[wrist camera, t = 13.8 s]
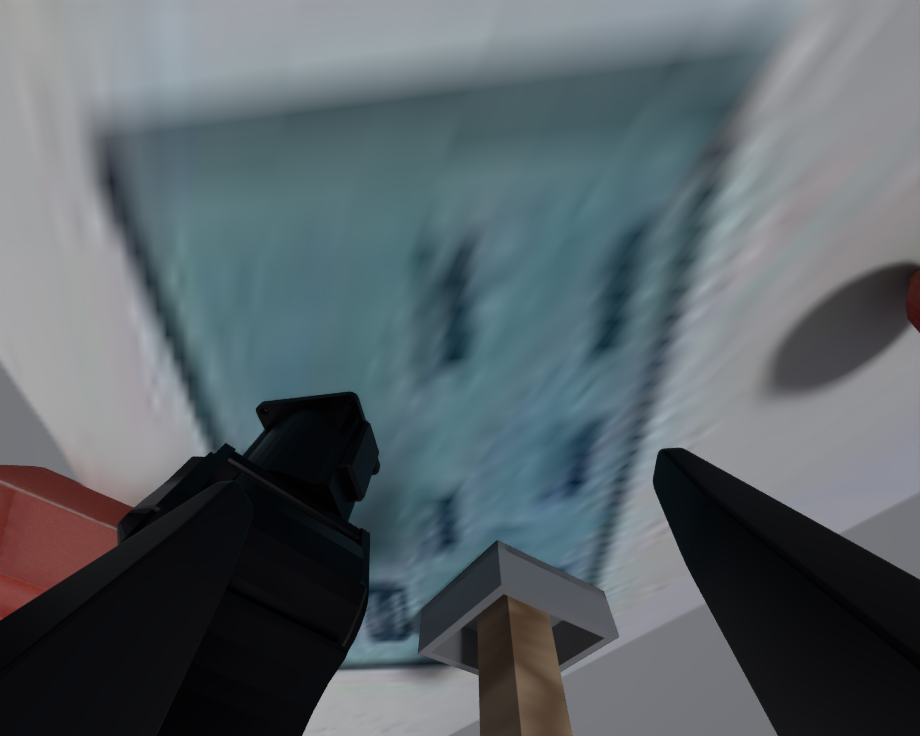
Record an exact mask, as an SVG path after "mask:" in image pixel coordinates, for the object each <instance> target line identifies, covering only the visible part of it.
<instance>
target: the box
mask: <svg viewBox="0 0 920 736" xmlns="http://www.w3.org/2000/svg"><path fill="white" fill-rule="evenodd" d="M503 594H505V595H507V596H509V597H511V598H514V599H516V600H518V601H521V602H523V603H525V604H528V605H530V606H532V607H534V608H537V609H539V610H541V611H544V612H546V613H548V614H549V617H550V622H551V627H552V632H553V638H554V643H555V648H556V653H557V658H558V663H559V668H560V672H562V671H563V670H565V669H567V668H568V667H570V666H572V665H573V664H575V663H577V662H578V661H580V660H582V659H583V658H585V657H587V656H588V655H590V654H592V653H593V652H595V651H597V650H598V649H600V648H602V647H603V646H605V645H607V644H608V643H610V642H612V641H613V640H615V639H617V638H618V637H619V634H618V631H617V628H616V625H615V622H614V619H613V617H612V614H611V611H610V608H609V605H608V602H607V599H606V596H605V593H604V591H602V590H600V589H598V588H596V587H594V586H592V585H590V584H588V583H585V582H583V581H581V580H579V579H577V578H575V577H573V576H571V575H569V574H567V573H565V572H562V571H560V570H558V569H556V568H554V567H552V566H550V565H548V564H546V563H544V562H542V561H539V560H537V559H535V558H533V557H531V556H529V555H527V554H525V553H523V552H521V551H519V550H516V549H514V548H512V547H510V546H508V545H506V544H504V543H502V542H500V541H498V540H497V541H496V542H495V543H494V544H493V545H492V546H491V547H490V548H489V549H488V550H486V551H485V552H484V553H483V554H482V555H481V556H480V557H479V558H478V559H477V560H476V561H474V562H473V563H472V564H471V565H470V566H469V567H468V568H467V569H466V570H465V571H463V572H462V573H461V574H460V575H459V576H458V577H457V578H456V579H455V580H454V581H452V582H451V583H450V584H449V585H448V586H447V587H446V588H445V589H444V590H443V591H441V592H440V593H439V594H438V595H437V596H436V597H435V598H434V599H433V600H432V601H431V602H429V603H428V604H427V605H426V606H425V607H424V608H423V609H422V618H421V628H420V637H419V646H418V654H420V655H423V656H426V657H429V658H432V659H434V660H437V661H440V662H443V663H446V664H448V665H451V666H454V667H457V668H460V669H462V670H465V671H468V672H471V673H474V674H476V675H479V666H478V625H477V615H478V614H479V613H481V612H482V611H483V610H484V609H486V608H487V607H488V606H489V605H491V604H492V603H493V602H494V601H496V600H497V599H498V598H499V597H501V596H502V595H503Z"/></svg>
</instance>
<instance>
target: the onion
mask: <svg viewBox="0 0 920 736" xmlns="http://www.w3.org/2000/svg"><path fill="white" fill-rule="evenodd" d="M906 310H907V317H908V319H909V321H910V322H911V323H912V324H913V326H914V327H915V328H916V329H917V330H918V331H919V333H920V269H918V270H916V271H915V272H914V273H913V274H912V275H911V276H910V278H909V279H908V292H907V296H906Z"/></svg>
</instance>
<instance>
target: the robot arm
mask: <svg viewBox="0 0 920 736" xmlns="http://www.w3.org/2000/svg"><path fill="white" fill-rule="evenodd" d="M347 398H348V399H351V400H352V401H353V402H349V401H348V400H347ZM263 408H265V409H267V411H265V410H264V409H263ZM256 412H257V415H258V417H259V419H260V421H261V423H262V425H263V427H264V429H265V430H264V431H263V432H262V433H261V434H260V436H259V437H258V438H257V439H256V440H255V442H254V443H253V444H252V445H251V446H250V447H249V449H248V450H247V451H246V452H245V453H244V454H243V456H242V455H240V454H238V453H237V452H235V450H236V449H235V448H233V447H231V446H230V445H228V444H227V443H225V444H224V445H223V446H222V447H221V448H220V449H219V450H218V451H217V452H216V453H215V454H214V453H212V452H210V453H209V454H208V455H207V456H206V457H191V458H190V459H189V460H188V461H187V462H186V463H185V464H184V465H183V466H182V467H181V468H180V469H179V470H178V471H177V472H176V473H175V474H174V475H173V476H172V477H171V478H170V479H168V480H167V481H166V482H165V483H164V484H163V485H162V486H160V487H159V488H158V489H157V490H155V491H154V492H153V493H152V494H150V495H149V496H148V497H147V498H145V499H144V500H143V501H142V502H140V503H139V504H138V505H137V506H135V507H134V508H133V509H132V510H131V511H130V512H128V513H127V514H126V515H125V516H124V517H123V518H122V520H121V521H120V522H119V523H118V524H117V546H116V547H114V548H113V549H111V550H110V551H108V552H106V553H105V554H103V555H102V556H100V557H99V558H97V559H95V560H94V561H92V562H91V563H89V564H88V565H86V566H84V567H83V568H81V569H80V570H78V571H77V572H75V573H73V574H72V575H70V576H69V577H67V578H66V579H64V580H62V581H61V582H59V583H58V584H56V585H55V586H53V587H52V588H50V589H48V590H47V591H45V592H44V593H42V594H41V595H39V596H37V597H36V598H34V599H33V600H31V601H30V602H28V603H26V604H25V605H23V606H22V607H20V608H19V609H17V610H15V611H14V612H12V613H11V614H9V615H8V616H6V617H4V618H3V619H1V620H0V736H302V735H303V732H304V730H305V728H306V726H307V724H308V722H309V719H310V717H311V715H312V713H313V711H314V709H315V707H316V705H317V703H318V702H319V700H320V698H321V696H322V694H323V692H324V691H325V689H326V687H327V685H328V683H329V682H330V680H331V679H332V677H333V676H334V674H335V673H336V671H337V670H338V668H339V667H340V666H341V664H342V663H343V661H344V660H345V658H346V656H347V653H348V651H349V649H350V647H351V645H352V644H353V642H354V640H355V638H356V636H357V634H358V631H359V629H360V627H361V624H362V621H363V618H364V616H365V612H366V608H367V604H368V595H369V558H370V533H369V532H367V531H366V530H364V529H362V528H361V529H359V528H357V527H356V526H354V525H352V524H351V523H349V522H348V521H349V518H350V515H351V512H352V510H353V507H354V504H355V502H359V501H362V499H363V498H364V497H365V494H366V491H367V488H368V485H369V482H370V479H371V476H372V475H376V474H377V473H378V472H379V469H380V463H379V460H378V455H379V450H378V447H377V444H376V441H375V437H374V434H373V431H372V428H371V425H370V423H369V422H368V421H366V419H365V416H364V413H363V410H362V407H361V404H360V401H359V398H358V396H357V395H356V394H355V393H353V392H342V393H333V394H325V395H316V396H307V397H299V398H290V399H282V400H273V401H265V402H262V403H261V404H260V405H259V406H258V407H257V408H256ZM653 486H654V489H655V492H656V494H657V497H658V499H659V502H660V504H661V506H662V509H663V511H664V514H665V516H666V518H667V521H668V523H669V526H670V528H671V530H672V533H673V535H674V538H675V540H676V543H677V545H678V547H679V550H680V552H681V554H682V557H683V559H684V561H685V563H686V565H687V567H688V569H689V571H690V573H691V575H692V577H693V579H694V581H695V583H696V585H697V586H698V588H699V590H700V592H701V594H702V596H703V598H704V599H705V601H706V603H707V605H708V607H709V609H710V611H711V612H712V614H713V616H714V618H715V620H716V622H717V623H718V625H719V627H720V629H721V631H722V633H723V635H724V637H725V638H726V640H727V642H728V644H729V646H730V648H731V649H732V651H733V653H734V655H735V657H736V659H737V661H738V663H739V664H740V666H741V668H742V670H743V672H744V674H745V676H746V677H747V679H748V681H749V683H750V685H751V687H752V689H753V690H754V692H755V694H756V696H757V698H758V700H759V702H760V703H761V705H762V707H763V709H764V711H765V713H766V714H767V716H768V718H769V720H770V722H771V724H772V726H773V727H774V729H775V731H776V733H777V735H778V736H920V579H918V578H916V577H914V576H913V575H911V574H909V573H907V572H905V571H904V570H902V569H900V568H898V567H896V566H894V565H893V564H891V563H889V562H887V561H886V560H884V559H882V558H880V557H878V556H877V555H875V554H873V553H871V552H869V551H868V550H866V549H864V548H862V547H860V546H858V545H857V544H855V543H853V542H851V541H850V540H848V539H846V538H844V537H842V536H841V535H839V534H837V533H835V532H833V531H832V530H830V529H828V528H826V527H824V526H823V525H821V524H819V523H817V522H815V521H813V520H812V519H810V518H808V517H806V516H804V515H803V514H801V513H799V512H797V511H795V510H794V509H792V508H790V507H788V506H786V505H785V504H783V503H781V502H779V501H777V500H776V499H774V498H772V497H770V496H768V495H767V494H765V493H763V492H761V491H759V490H758V489H756V488H754V487H752V486H750V485H749V484H747V483H745V482H743V481H741V480H740V479H738V478H736V477H734V476H732V475H731V474H729V473H727V472H725V471H723V470H722V469H720V468H718V467H716V466H714V465H713V464H711V463H709V462H707V461H705V460H704V459H702V458H700V457H698V456H696V455H695V454H693V453H691V452H689V451H687V450H685V449H683V448H666V449H661V450H660V451H659V452H658V455H657V460H656V465H655V470H654V475H653Z"/></svg>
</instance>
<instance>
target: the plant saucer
mask: <svg viewBox="0 0 920 736" xmlns="http://www.w3.org/2000/svg"><path fill="white" fill-rule="evenodd" d="M132 509H133V507H131V506H128V505H126V504H124V503H121V502H119V501H117V500H114V499H112V498H110V497H107V496H105V495H103V494H100V493H98V492H96V491H93V490H91V489H89V488H86V487H84V486H83V485H82V483H80V482H77V481H75V480H73V479H71V478H68V477H65V476H63V475H61V474H58V473H56V472H54V471H51V470H49V469H47V468H44V467H35V466H17V465H16V466H15V465H0V620H1V619H3V618H4V617H6V616H8V615H9V614H11V613H12V612H14V611H15V610H17V609H19V608H20V607H22V606H23V605H25V604H26V603H28V602H30V601H31V600H33V599H34V598H36V597H37V596H39V595H41V594H42V593H44V592H45V591H47V590H48V589H50V588H52V587H53V586H55V585H56V584H58V583H59V582H61V581H62V580H64V579H66V578H67V577H69V576H70V575H72V574H73V573H75V572H77V571H78V570H80V569H81V568H83V567H84V566H86V565H88V564H89V563H91V562H92V561H94V560H95V559H97V558H99V557H100V556H102V555H103V554H105V553H106V552H108V551H110V550H111V549H113V548H114V547H116V546H117V524H118V523H119V522H120V521H121V520H122V518H123V517H124V516H125V515H126V514H127V513H128V512H130V511H131V510H132Z"/></svg>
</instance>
